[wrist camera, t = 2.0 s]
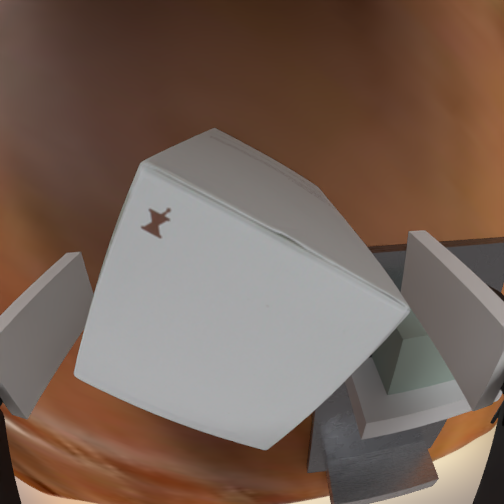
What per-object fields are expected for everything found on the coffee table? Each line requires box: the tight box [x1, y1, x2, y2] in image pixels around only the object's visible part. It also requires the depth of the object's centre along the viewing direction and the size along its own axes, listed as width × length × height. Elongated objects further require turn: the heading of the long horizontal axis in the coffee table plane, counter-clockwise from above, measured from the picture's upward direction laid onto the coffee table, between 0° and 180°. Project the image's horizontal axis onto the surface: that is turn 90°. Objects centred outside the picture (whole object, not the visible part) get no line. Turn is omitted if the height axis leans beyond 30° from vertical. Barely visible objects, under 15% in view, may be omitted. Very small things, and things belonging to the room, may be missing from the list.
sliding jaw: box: [345, 306, 502, 440], centre depth 19 cm, size 12×7×6 cm, turn 94°
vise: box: [307, 237, 504, 504], centre depth 23 cm, size 16×28×7 cm, turn 4°
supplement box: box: [74, 128, 410, 450], centre depth 13 cm, size 7×7×13 cm
